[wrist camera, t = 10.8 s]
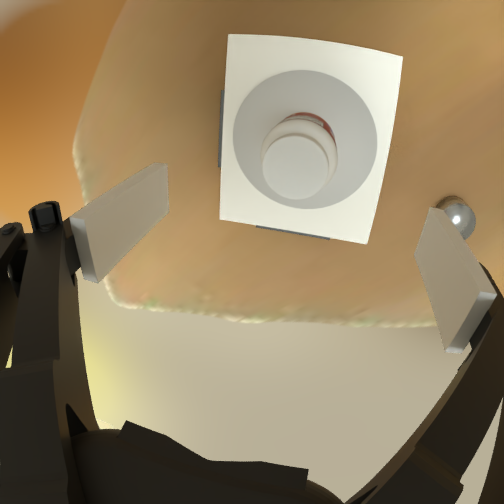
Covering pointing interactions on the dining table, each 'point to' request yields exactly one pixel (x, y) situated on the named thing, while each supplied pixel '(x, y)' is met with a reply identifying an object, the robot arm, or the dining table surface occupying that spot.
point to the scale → (312, 101)
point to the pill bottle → (299, 156)
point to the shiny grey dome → (459, 215)
